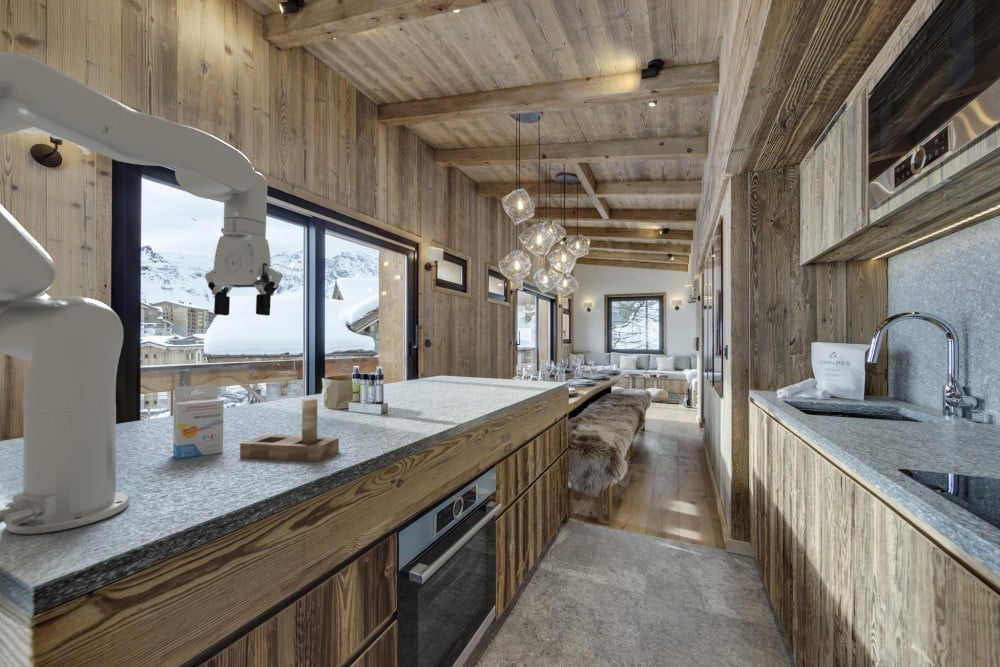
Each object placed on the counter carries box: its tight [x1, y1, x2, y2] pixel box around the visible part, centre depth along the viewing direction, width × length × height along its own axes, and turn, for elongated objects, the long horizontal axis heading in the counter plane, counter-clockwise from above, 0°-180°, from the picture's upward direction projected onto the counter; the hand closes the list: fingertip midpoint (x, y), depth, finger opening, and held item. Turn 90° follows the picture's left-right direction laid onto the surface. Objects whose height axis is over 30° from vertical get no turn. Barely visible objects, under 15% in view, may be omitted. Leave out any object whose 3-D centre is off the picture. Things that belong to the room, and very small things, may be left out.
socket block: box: [239, 434, 340, 463], centre depth 95 cm, size 8×18×3 cm, turn 81°
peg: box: [301, 398, 318, 445], centre depth 94 cm, size 3×3×12 cm
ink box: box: [172, 383, 224, 460], centre depth 95 cm, size 8×5×15 cm, turn 134°
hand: (242, 314), depth 89 cm, fingers open, 9 cm apart
